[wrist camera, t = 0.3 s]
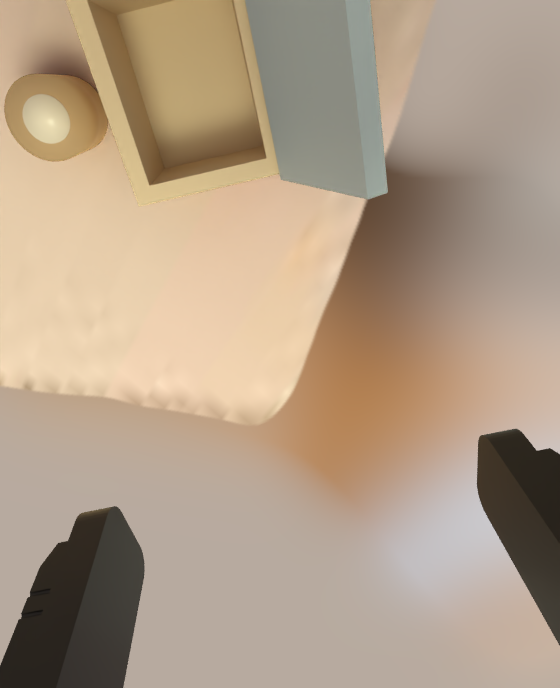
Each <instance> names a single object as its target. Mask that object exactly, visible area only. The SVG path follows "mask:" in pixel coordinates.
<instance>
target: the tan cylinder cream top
mask: <svg viewBox="0 0 560 688" xmlns="http://www.w3.org/2000/svg"><path fill="white" fill-rule="evenodd" d="M4 110H5V118H6V122H7V125H8V127H9V129H10V131H11V133H12V135H13V136H14V138H15V139H16V141H17V142H18V143H19V144H20V145H21V146H22V147H23V148H24V149H25V150H26V151H28V152H29V153H31V154H32V155H34V156H36V157H38V158H40V159H43V160H47V161H64V160H67V159H70V158H72V157H74V156H76V155H79V154H81V153H83V152H85V151H88V150H90V149H92V148H94V147H96V146H97V145H98V144H99V143H100V142H101V141H102V140H103V138H104V136H105V134H106V131H107V127H108V118H107V115H106V113H105V110H104V107H103V104H102V101H101V98H100V96H99V94H98V92H97V91H96V90H95V89H94V88H93V87H92V86H91V85H90V84H88V83H87V82H86V81H84V80H82V79H80V78H78V77H75V76H70V75H54V74H30V75H26V76H23V77H21V78H20V79H18V80H17V81H15V82H14V83H13V85H12V86H11V87H10V89H9V90H8V93H7V95H6V99H5V105H4Z"/></svg>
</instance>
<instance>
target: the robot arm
mask: <svg viewBox="0 0 560 688" xmlns="http://www.w3.org/2000/svg"><path fill="white" fill-rule="evenodd" d="M477 471H478V472H477V488H478V494H479V498H480V501H481V504H482V507H483V509H484V511H485V513H486V515H487V516H488V519H489V520H490V522H491V524H492V526H493V528H494V529H495V531H496V533H497V535H498V536H499V538H500V540H501V542H502V543H503V545H504V547H505V549H506V551H507V552H508V554H509V556H510V558H511V560H512V561H513V563H514V565H515V567H516V568H517V570H518V572H519V574H520V576H521V577H522V579H523V581H524V583H525V584H526V586H527V588H528V590H529V591H530V593H531V595H532V597H533V599H534V601H535V602H536V604H537V606H538V607H539V609H540V611H541V613H542V615H543V617H544V618H545V620H546V622H547V624H548V626H549V627H550V629H551V631H552V633H553V634H554V636H555V638H556V640H557V641H558V643H559V645H560V454H558V453H557V452H555V451H553V450H552V449H550V448H549V449H544V450H540V451H536V449H535V448H534V447H533V446H532V444H531V443H530V442H529V441H528V439H527V438H526V437H525V436H524V434H523V433H522V432H521V431H520V430H518V429H512V430H507V431H502V432H496V433H491V434H486V435H481V436H480V437H479V442H478V468H477ZM143 579H144V559H143V553H142V550H141V547H140V545H139V544H138V542H137V540H136V538H135V536H134V535H133V532H132V531H131V529H130V527H129V525H128V523H127V521H126V520H125V518H124V516H123V514H122V512H121V511H120V509H119V508H118V507H115V506H114V507H109V508H105V509H99V510H94V511H89V512H84V513H81V514H80V515H79V516H78V517H77V519H76V521H75V524H74V526H73V529H72V532H71V535H70V537H69V540H68V541H66V542H61V543H58V544H57V545H56V547H55V548H54V549H53V551H52V552H51V553H50V554H49V556H48V557H47V558H46V560H45V561H44V562H43V564H42V565H41V567H40V568H39V571H38V573H37V576H36V579H35V581H34V583H33V586H32V588H31V591H30V597H28V598H27V601H26V603H25V606H24V608H23V611H22V613H21V614H22V618H21V619H19V620H18V623H17V625H16V628H15V630H14V633H13V635H12V638H11V641H10V643H9V645H8V648H7V650H6V653H5V655H4V658H3V661H2V663H1V665H0V688H123V685H124V680H125V675H126V669H127V664H128V658H129V653H130V648H131V643H132V637H133V632H134V627H135V622H136V616H137V611H138V605H139V600H140V594H141V590H142V584H143Z"/></svg>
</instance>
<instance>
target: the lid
mask: <svg viewBox="0 0 560 688" xmlns="http://www.w3.org/2000/svg"><path fill="white" fill-rule="evenodd" d="M245 3H246V8H247V13H248V18H249V23H250V28H251V33H252V38H253V43H254V48H255V53H256V58H257V63H258V68H259V73H260V78H261V83H262V88H263V93H264V98H265V103H266V108H267V113H268V118H269V123H270V128H271V133H272V138H273V143H274V148H275V153H276V158H277V163H278V168H279V173H280V178H281V180H285V181H289V182H294V183H298V184H302V185H307V186H311V187H316V188H320V189H324V190H329V191H333V192H338V193H342V194H346V195H351V196H355V197H360V198H364V199H370V198H373V197H376V196H379V195H382V194H385V193H387V192H388V191H387V181H386V180H387V179H386V169H385V157H384V146H383V136H382V125H381V114H380V103H379V92H378V81H377V70H376V59H375V48H374V38H373V27H372V16H371V5H370V0H245Z"/></svg>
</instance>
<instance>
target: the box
mask: <svg viewBox="0 0 560 688" xmlns="http://www.w3.org/2000/svg"><path fill="white" fill-rule="evenodd" d="M66 3H67V5H68V8H69V11H70V14H71V17H72V20H73V22H74V25H75V28H76V31H77V34H78V36H79V39H80V42H81V45H82V48H83V51H84V53H85V56H86V59H87V62H88V65H89V67H90V70H91V73H92V76H93V79H94V82H95V84H96V87H97V90H98V93H99V96H100V98H101V101H102V104H103V107H104V110H105V113H106V115H107V118H108V121H109V124H110V127H111V129H112V132H113V135H114V138H115V141H116V144H117V146H118V149H119V152H120V155H121V158H122V160H123V163H124V166H125V169H126V172H127V175H128V177H129V180H130V183H131V186H132V189H133V191H134V194H135V197H136V200H137V203H138V206H139V207H140V206H144V205H148V204H153V203H157V202H161V201H166V200H170V199H174V198H178V197H183V196H187V195H191V194H196V193H200V192H204V191H208V190H213V189H217V188H221V187H226V186H230V185H234V184H239V183H243V182H247V181H251V180H256V179H260V178H264V177H269V176H273V175H277V174H280V173H279V168H278V163H277V158H276V153H275V148H274V143H273V138H272V133H271V128H270V123H269V118H268V113H267V108H266V103H265V98H264V93H263V88H262V83H261V78H260V73H259V68H258V63H257V58H256V53H255V48H254V43H253V38H252V33H251V28H250V23H249V18H248V13H247V8H246V3H245V0H66Z"/></svg>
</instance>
